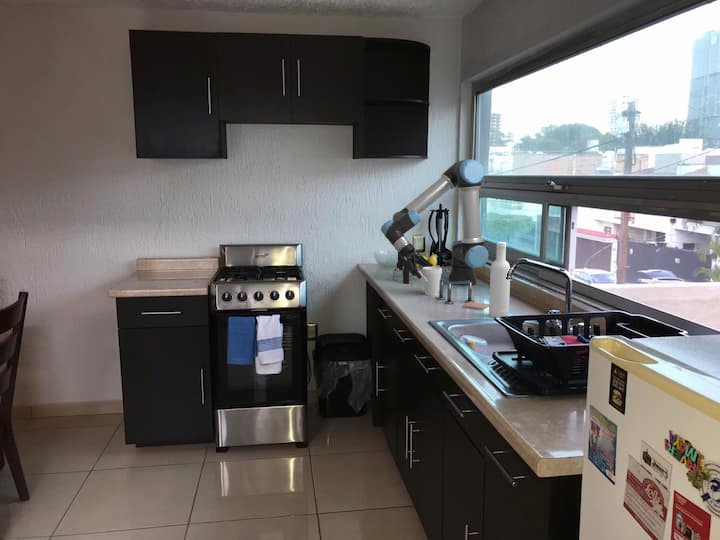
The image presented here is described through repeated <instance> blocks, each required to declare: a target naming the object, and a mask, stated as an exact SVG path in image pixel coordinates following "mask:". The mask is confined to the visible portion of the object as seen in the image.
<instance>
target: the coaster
mask: <svg viewBox="0 0 720 540" xmlns="http://www.w3.org/2000/svg"><path fill="white" fill-rule="evenodd" d="M461 308H462V309H471V310H480V311H483V310H485V309H487V308H489V303H483V302H477V301H476V302H475V301H474V302H468V303H464V304H461Z"/></svg>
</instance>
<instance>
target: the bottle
mask: <svg viewBox="0 0 720 540" xmlns="http://www.w3.org/2000/svg"><path fill="white" fill-rule="evenodd" d="M495 247H496V253H495V254H496V255H495V259H494V261H492V263H491V266H490V272H489V273H490V274H489V276H490V278H489V299H488V300H489V301H488V302H489V303H488V304H489V307H488V315H489V316H490V317H491V318H494V319H496V318H495V317H499V316H508V317H509V313H510V293H511V292H510V290H511V278H510V279H509V280H507V279H506V277H507V273H508V271H509V269H511V265H510V263H509V262H508V261H507V260H506V258H507V257H506V256H507V255H506V252H507V243H506V242H505V241H498V242H496V246H495Z"/></svg>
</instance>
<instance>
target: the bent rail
mask: <svg viewBox="0 0 720 540" xmlns="http://www.w3.org/2000/svg"><path fill="white" fill-rule="evenodd" d="M444 283H445V284H447V291H446V293H447V297H444ZM467 283H468V285H467V299H466V300H465V301H464V302H465V303H464V304H466V303H468V302H475V301H474V300H472V294H473V292H472V291H473V285H472V282H471V281H459V282H449V281H448V279H445V278H441V279H440V286H439V293H438V296H436V300H439V301H441V300H442V301H443V300H444V304H445V305H453V304H454V303H455V302H454V301H452V285H455V284H467ZM446 298H447V299H446Z"/></svg>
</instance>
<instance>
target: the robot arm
mask: <svg viewBox="0 0 720 540" xmlns="http://www.w3.org/2000/svg"><path fill="white" fill-rule="evenodd" d="M484 177H485V168H484V166H483V165H482V163H481V162H480V161H477V160H475V159H470V158H469V159H466V160H465V159H464V160H462V159H461V160H458V161H456V162H455V163H453V164H452V165H451V166H449V167H448V168H447V169H446V170H445V171H444V172H443V173H442V174H441V175H440V178H439V179H437V180H436V181H435V182H433V184H431V185H430V186H429V187H428V188H427V189H425V190H424V191H423V192H422V193H420V194H419V195H418V196H417V197H416V198H414V199H413V200H412V201H410V203H408V204H407V205H406V206H405V207H404V208H402V209H401V210H399V211H397V212H395V213H394V214H393V215H392V217H391V218H392V220H391V219H390V220H387V221H385V223H384V222H383V223H384V224H382V226H381V227H380V231H381V233H382V234H383V235H384V237H385V238H386V239H387V240H388V242H389V243H390V244H391V245H392V246H393V247H394V250H395V251H397V253H398V252H399V254H400V255H401V256H402V257H403V260H404V261H405V263H406V265H407V267H408V269H409V271H410V273H411V274H412V275H414V274H415V275H416V276H415V277H416V278H417V279H418V280H419V282H420V283H421V284H422V285H423V286H424V284H425V283H427V282H428V281H427V279H426V278H425V277H424V276H423V273H422V271H420V270H418V266H417V265H420V266H421V267H422V268H423V267H434V265H433V264H432V263H431V262H430V261H428V260H427V259H426V258H425V257H424V256H423V255H422V254H421V253H420V252H415V251H416V248H415V247H414V245H413V244H412V243H411V242H410V240H409V239H408V238H407V237H406V236H405V235H404V234H407V233H408V231H410V230H411V229H413V228H414V227H417V225H418V224H419V223H420V222H421V221H422V217H421V216H420V214H421V213H423V212H424V211H425V210H426V209H427V208H429V207H430V206H431V205H432V204H433V203H435V202H436V201H437V200H438V199H440V198H441V197H442V196H443V195H445V194H446V193H447V192H448V191H449V190H450V189H451V190H454V189H455V188H456V187H457V189H458V190H459V191H460V195H461V209H462V210H461V211H462V213H461V214H462V225H463V227H462V228H463V239H462V240H454V241H453V242H452V246H451V270H450V273H449V276H448V279H447V281H449V282H459V281H471V282H472V286H474V285H477V283H478V279H477V275H476V271H475V269H478V268H482V267H483V266H485V265H486V263H487V262H488V260H489V251H488V249H487V248H486V247H485V246H486V245H485V240H484V239H483V238H482V230H481V229H482V228H481V213H480V211H481V210H480V195H479V194H480V191H479V190H480V189H481V187H482V180H483V179H484ZM454 285H455V286H456V285H458V286H468V283H467V284H454Z"/></svg>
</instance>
